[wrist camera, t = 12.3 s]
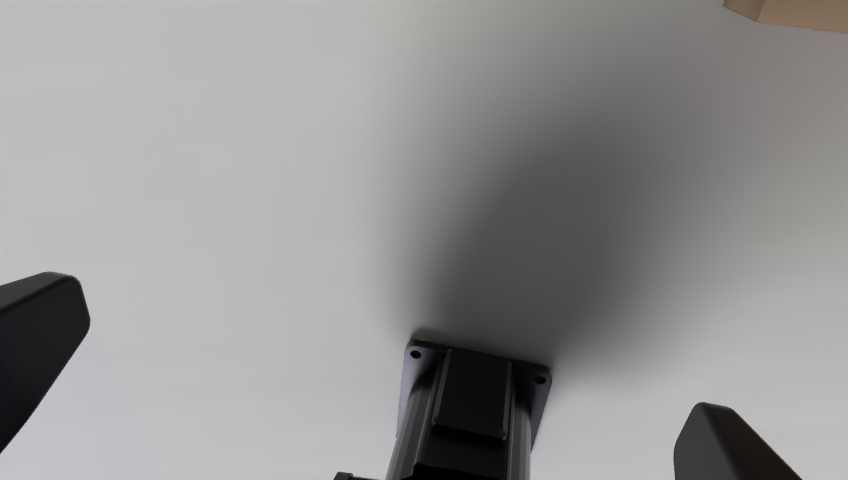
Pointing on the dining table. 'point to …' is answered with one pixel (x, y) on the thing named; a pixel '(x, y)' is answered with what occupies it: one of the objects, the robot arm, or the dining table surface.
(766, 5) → the socket block
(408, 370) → the robot arm
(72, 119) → the dining table surface
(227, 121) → the dining table surface
